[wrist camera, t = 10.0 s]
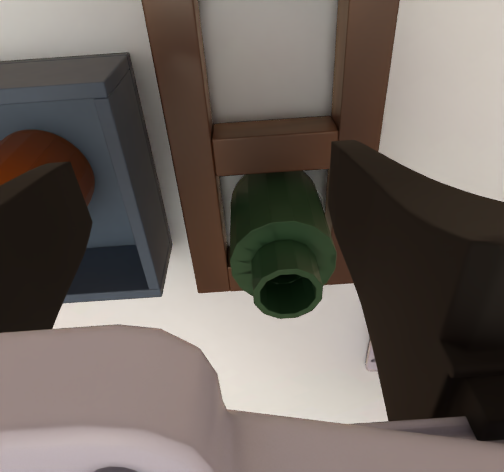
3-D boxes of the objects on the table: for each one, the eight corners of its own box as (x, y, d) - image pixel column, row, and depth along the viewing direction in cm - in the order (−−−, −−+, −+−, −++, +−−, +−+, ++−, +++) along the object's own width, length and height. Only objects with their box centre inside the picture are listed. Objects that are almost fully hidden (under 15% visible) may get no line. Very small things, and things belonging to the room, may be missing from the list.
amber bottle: (106, 210, 23) (60, 309, 17) (18, 216, 23) (-58, 317, 17) (78, 125, 20) (11, 210, 14) (-24, 132, 20) (-134, 220, 14)
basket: (172, 245, 25) (162, 297, 22) (-7, 256, 25) (-47, 311, 22) (128, 51, 18) (103, 81, 15) (-116, 69, 19) (-199, 102, 15)
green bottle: (315, 233, 25) (341, 329, 19) (235, 239, 25) (235, 336, 19) (319, 160, 22) (350, 246, 16) (227, 166, 22) (224, 254, 16)
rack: (394, -91, 16) (413, -93, 14) (352, 261, 27) (359, 283, 25) (137, -72, 16) (127, -72, 14) (200, 272, 27) (198, 293, 25)
